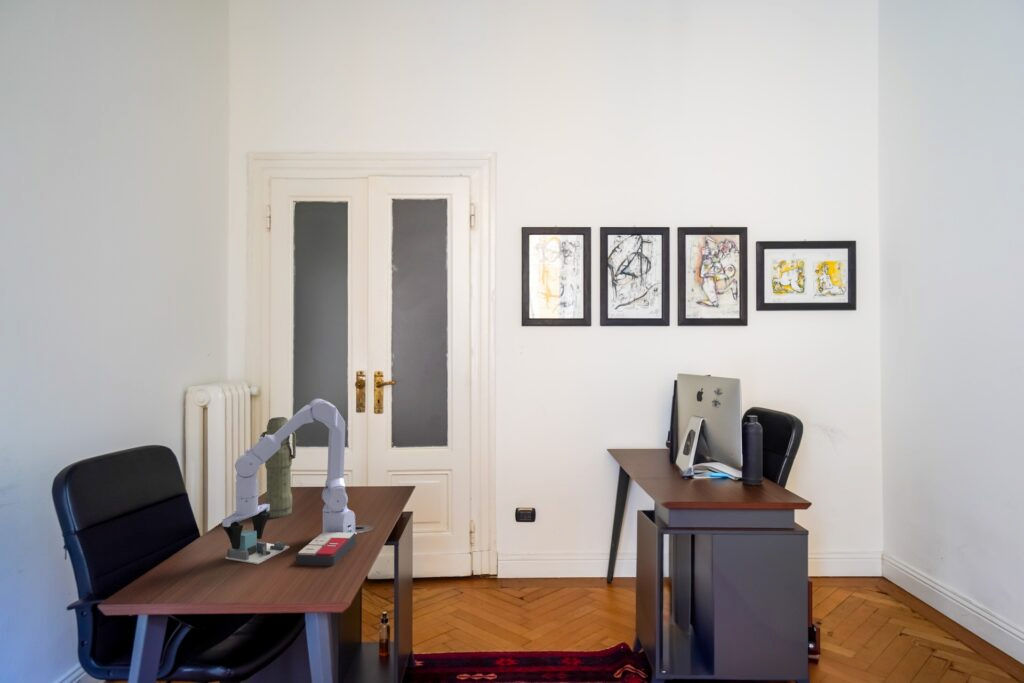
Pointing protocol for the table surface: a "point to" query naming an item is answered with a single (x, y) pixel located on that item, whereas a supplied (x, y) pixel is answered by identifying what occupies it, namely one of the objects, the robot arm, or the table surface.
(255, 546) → the pale blue cube
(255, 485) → the robot arm
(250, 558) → the board
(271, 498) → the thermos
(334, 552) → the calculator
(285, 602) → the table surface
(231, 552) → the end holder
